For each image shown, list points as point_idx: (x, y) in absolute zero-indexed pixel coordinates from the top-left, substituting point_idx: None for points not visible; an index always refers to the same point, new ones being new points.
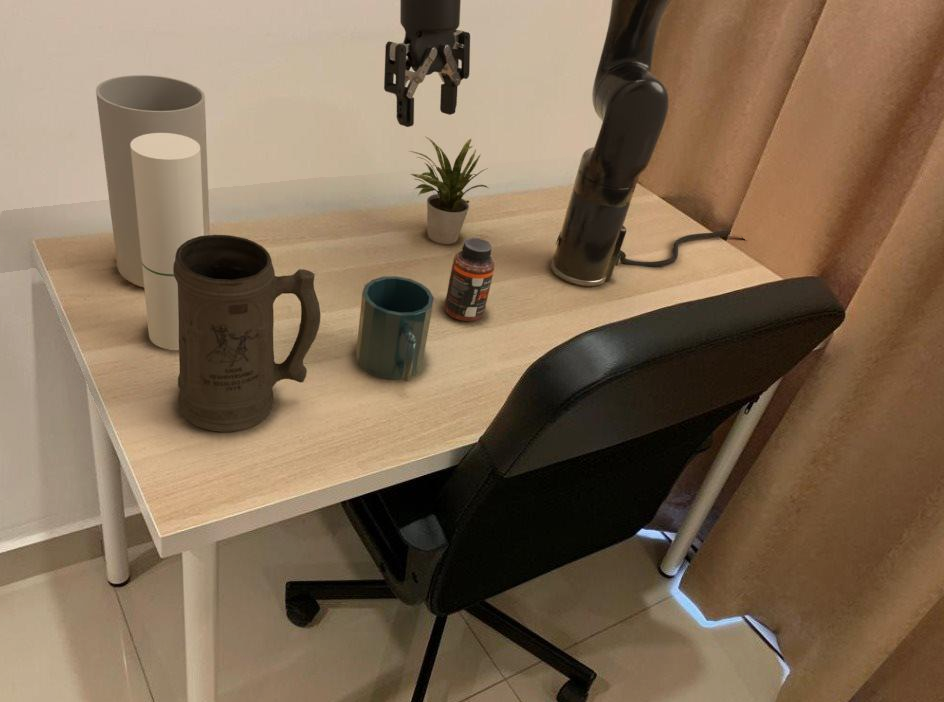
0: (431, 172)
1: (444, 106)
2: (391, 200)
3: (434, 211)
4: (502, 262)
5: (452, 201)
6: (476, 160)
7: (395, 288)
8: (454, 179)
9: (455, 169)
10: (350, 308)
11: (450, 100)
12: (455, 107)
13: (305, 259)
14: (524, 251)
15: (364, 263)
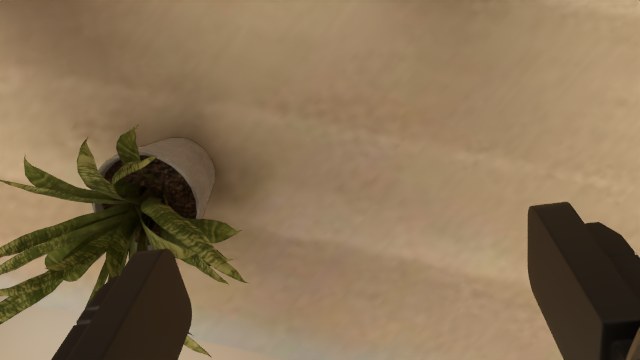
0: None
1: (173, 316)
2: (198, 336)
3: (200, 194)
4: (108, 12)
5: (136, 198)
6: (3, 252)
7: None
8: (105, 234)
9: (92, 249)
10: (590, 9)
11: (144, 310)
12: (124, 268)
13: None
14: (22, 29)
15: (425, 155)
